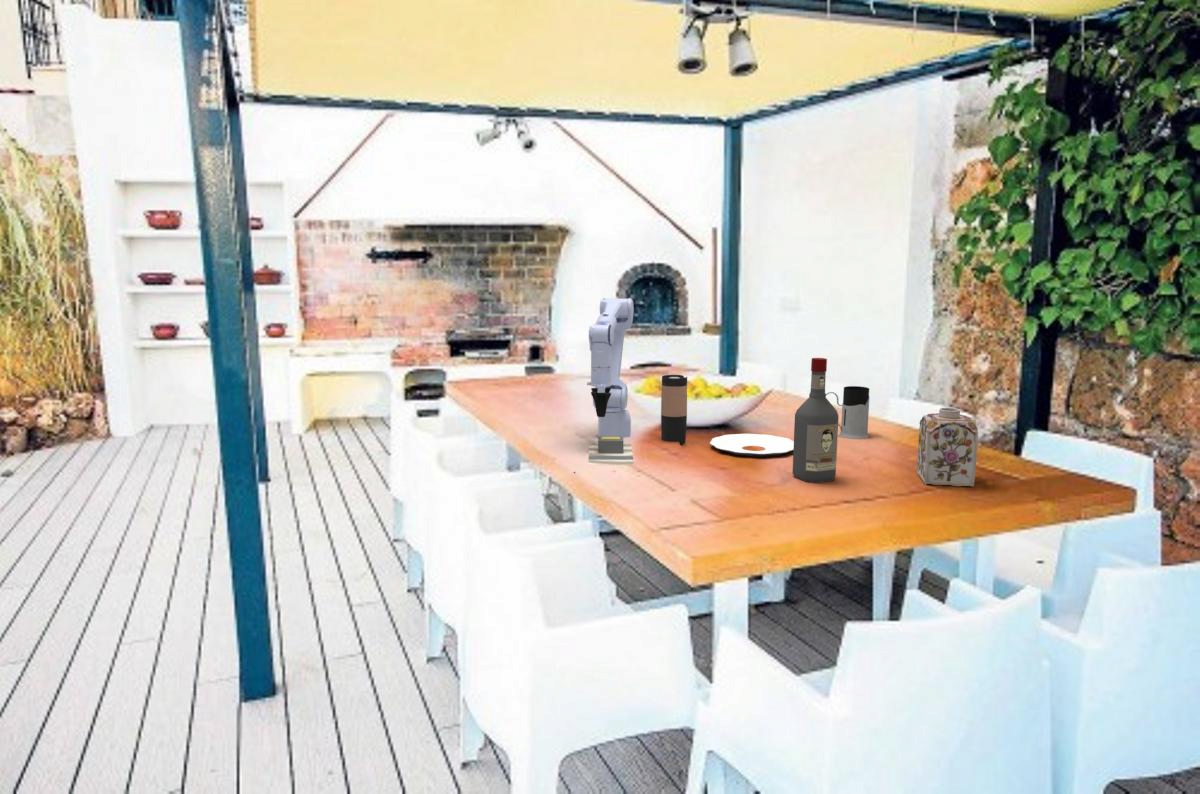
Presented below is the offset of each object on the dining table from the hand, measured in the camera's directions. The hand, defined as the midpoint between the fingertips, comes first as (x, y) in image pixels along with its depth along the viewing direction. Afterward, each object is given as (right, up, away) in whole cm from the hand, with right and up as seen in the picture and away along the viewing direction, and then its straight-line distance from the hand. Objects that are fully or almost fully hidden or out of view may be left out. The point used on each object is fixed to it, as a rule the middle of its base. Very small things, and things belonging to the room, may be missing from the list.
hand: (600, 414), depth 232 cm
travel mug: (+22, -9, +11) cm, 26 cm away
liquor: (+53, -15, -27) cm, 62 cm away
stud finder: (+3, -10, -5) cm, 11 cm away
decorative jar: (+85, -16, -30) cm, 91 cm away
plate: (+44, -10, +4) cm, 46 cm away
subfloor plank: (+3, -12, -7) cm, 14 cm away
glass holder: (+76, -7, +20) cm, 79 cm away
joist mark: (+3, -13, -12) cm, 17 cm away
